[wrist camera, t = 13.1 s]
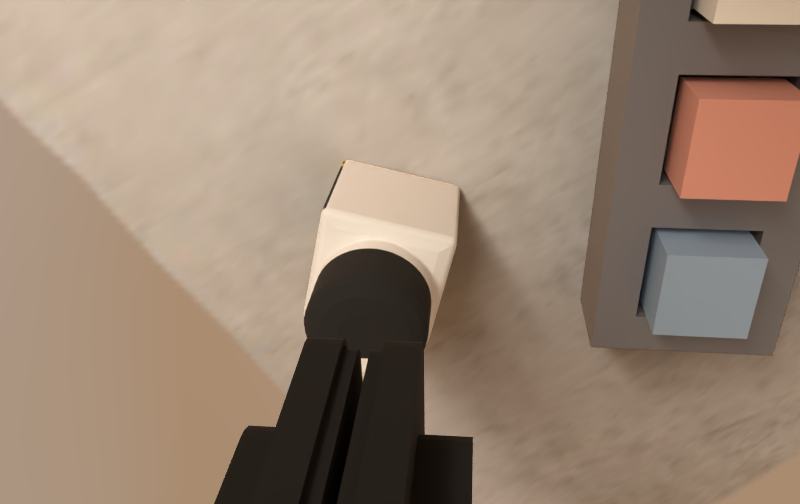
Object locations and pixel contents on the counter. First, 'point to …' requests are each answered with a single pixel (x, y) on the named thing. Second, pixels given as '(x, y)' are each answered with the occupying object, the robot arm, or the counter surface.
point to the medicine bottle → (381, 257)
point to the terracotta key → (734, 138)
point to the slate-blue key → (702, 282)
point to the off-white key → (750, 11)
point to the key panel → (652, 189)
